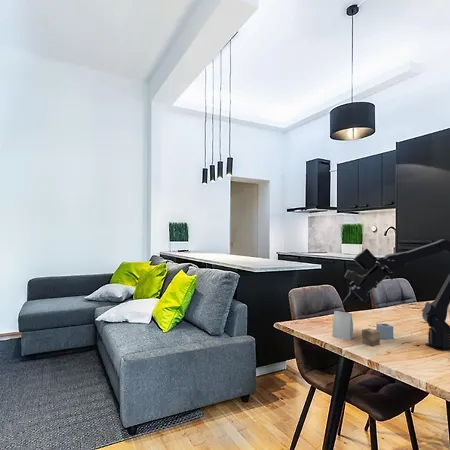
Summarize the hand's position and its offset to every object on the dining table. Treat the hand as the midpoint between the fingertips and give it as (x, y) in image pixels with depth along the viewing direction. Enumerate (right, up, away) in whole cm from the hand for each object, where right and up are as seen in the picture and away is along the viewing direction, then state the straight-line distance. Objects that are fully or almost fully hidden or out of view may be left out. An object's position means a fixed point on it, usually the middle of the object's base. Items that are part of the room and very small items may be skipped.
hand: (342, 304), depth 131 cm
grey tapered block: (0, -13, 0) cm, 13 cm away
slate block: (+17, -13, 0) cm, 22 cm away
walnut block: (+8, -13, -8) cm, 17 cm away
